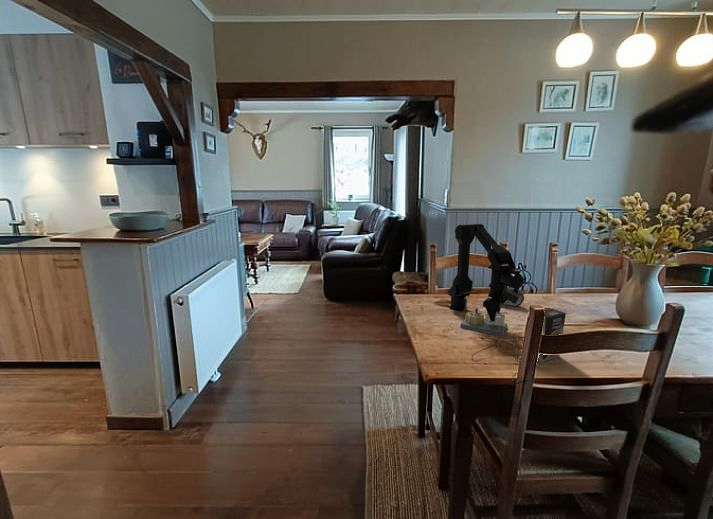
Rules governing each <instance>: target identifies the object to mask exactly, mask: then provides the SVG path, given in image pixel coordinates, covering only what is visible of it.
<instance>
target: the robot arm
mask: <svg viewBox="0 0 713 519" xmlns="http://www.w3.org/2000/svg"><path fill="white" fill-rule="evenodd" d="M454 232H455V233H454V234H455V240H456V242H457V243H458V248H457V249H458V252H457V271H456V275H455V278H454V279H453V280H452V286H451V287H450V288H449V289H448V290H447V292H448V296H450V306H449V309H450V310H456V311H461V312H463V311H465V309H467V306H468V299H467V297H470V295H471V292H472V290H473V280H472V279H471V278H470V276H469V271H470V270H469V268H470V253H471V244H472V243H473V241H474V240H475V238H476V239H477V240H478V242H479V243H480V244H481V245H482V246H483V248H484V250H485V251H486V253H487V255H486V256H487V259H488V260H489V263H490V264H489V265H488V267H487V268H488V269H490V270H491V275H490V283H489V284H488V288H489V292H488V294H487V298H485V299H484V300H483V302H482V307H483V308H484V309H485V310H486V313H487V312H488V315H489V317H490V320H491V322H494V320H495V317H496V313H497V312H498V313H499V312H500V313H501V309H502V306H503V303H504V302H506V301H507V300H509V301H510V302H512V303H513V304H516V303H517V301H518V299H519V298H520V296H521V295H520V293H519V290H520V288H521V287H522V286H523V285H524V281H525V279H524V277H523V275H522V274H521V271H520V270H518V269H517V267H516V264H515V262H514V260H513V257H512V254H511V251H509V250H508V249H507V248H505V247H504V246H502V245H499V244H498V243H497V241H496V240H495V239H494V237H492V235H491V234H490V233H489V232H488V231H487V230H486V228H485V226H484V224H482V223H473V224H472V223H471V224H470V223H469V224H467V223H466V224H458V225H457V226H456V227H455V230H454ZM508 288H513V290H512V289H508Z"/></svg>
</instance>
